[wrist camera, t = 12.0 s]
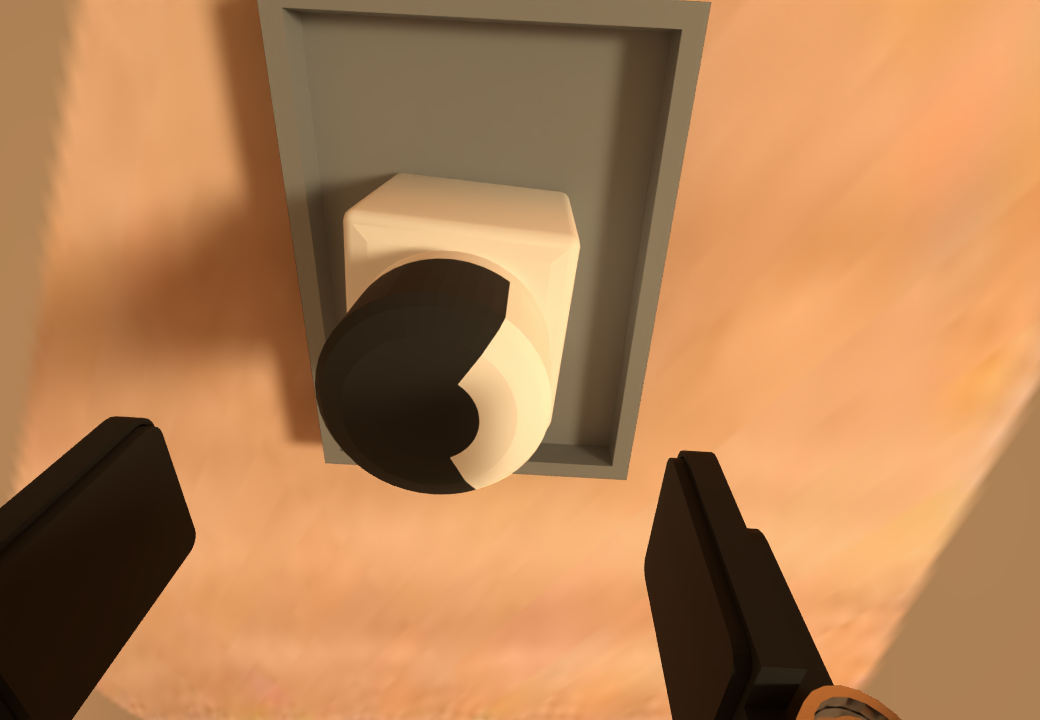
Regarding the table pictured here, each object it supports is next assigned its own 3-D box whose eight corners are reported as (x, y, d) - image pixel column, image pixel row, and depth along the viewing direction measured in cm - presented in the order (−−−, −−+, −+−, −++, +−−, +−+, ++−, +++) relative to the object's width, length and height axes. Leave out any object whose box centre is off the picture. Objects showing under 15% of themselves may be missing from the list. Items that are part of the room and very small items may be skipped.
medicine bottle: (394, 329, 25) (292, 513, 15) (395, 170, 22) (265, 260, 12) (546, 346, 26) (553, 540, 15) (569, 191, 22) (599, 298, 12)
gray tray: (283, -13, 20) (253, -24, 18) (692, 9, 20) (711, 2, 18) (340, 434, 29) (325, 463, 27) (620, 450, 29) (626, 479, 27)
